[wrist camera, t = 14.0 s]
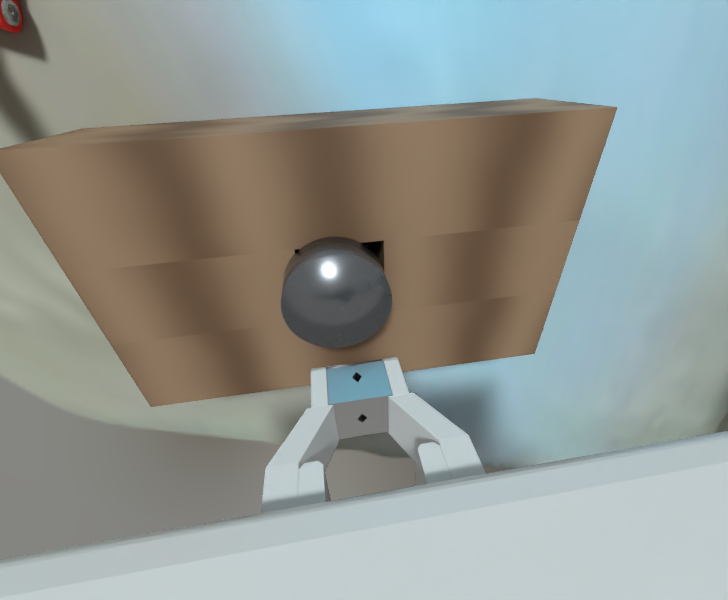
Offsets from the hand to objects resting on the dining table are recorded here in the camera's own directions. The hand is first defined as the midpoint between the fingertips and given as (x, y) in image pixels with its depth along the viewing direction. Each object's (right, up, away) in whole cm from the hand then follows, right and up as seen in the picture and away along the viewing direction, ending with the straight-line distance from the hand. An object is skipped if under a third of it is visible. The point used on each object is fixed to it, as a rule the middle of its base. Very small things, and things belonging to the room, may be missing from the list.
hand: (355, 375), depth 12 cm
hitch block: (-2, +7, +10) cm, 12 cm away
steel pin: (-2, +7, +10) cm, 12 cm away
